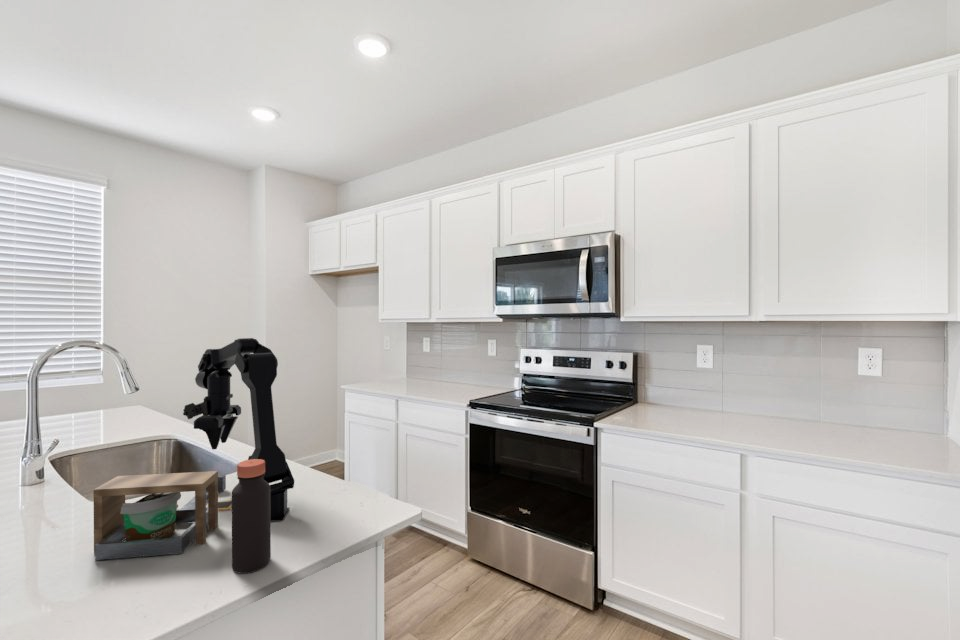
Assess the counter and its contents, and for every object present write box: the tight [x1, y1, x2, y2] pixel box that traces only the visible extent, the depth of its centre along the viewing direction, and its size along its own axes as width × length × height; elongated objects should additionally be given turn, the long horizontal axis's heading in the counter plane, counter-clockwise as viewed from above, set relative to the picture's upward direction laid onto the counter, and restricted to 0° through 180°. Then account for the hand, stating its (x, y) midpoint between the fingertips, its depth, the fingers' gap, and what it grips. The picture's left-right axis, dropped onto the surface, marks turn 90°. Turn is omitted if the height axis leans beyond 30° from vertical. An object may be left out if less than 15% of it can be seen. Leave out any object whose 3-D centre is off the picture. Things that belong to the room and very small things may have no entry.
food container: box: [120, 492, 182, 541], centre depth 99 cm, size 12×6×10 cm, turn 168°
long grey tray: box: [94, 474, 227, 561], centre depth 109 cm, size 16×36×4 cm, turn 10°
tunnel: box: [93, 470, 219, 554], centre depth 99 cm, size 21×8×13 cm, turn 100°
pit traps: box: [177, 500, 232, 512], centre depth 115 cm, size 19×5×1 cm, turn 100°
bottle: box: [231, 459, 272, 574], centre depth 89 cm, size 7×7×20 cm
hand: (219, 445), depth 131 cm, fingers open, 6 cm apart
